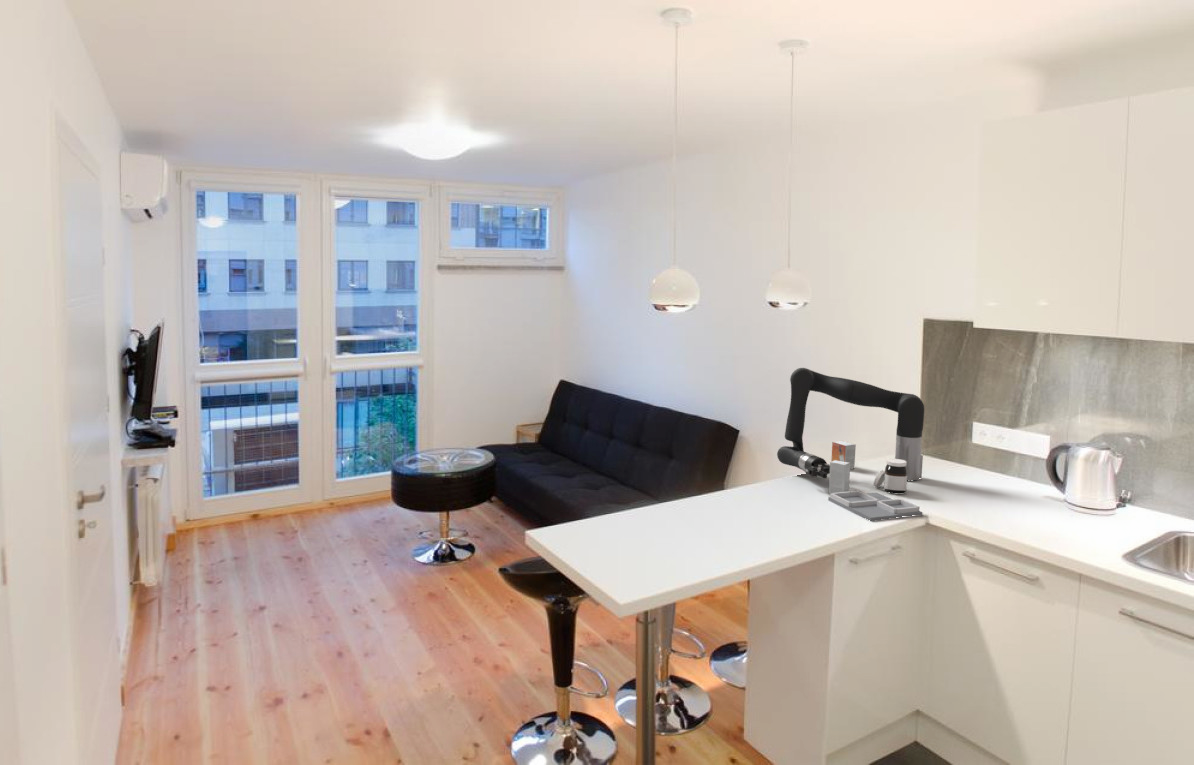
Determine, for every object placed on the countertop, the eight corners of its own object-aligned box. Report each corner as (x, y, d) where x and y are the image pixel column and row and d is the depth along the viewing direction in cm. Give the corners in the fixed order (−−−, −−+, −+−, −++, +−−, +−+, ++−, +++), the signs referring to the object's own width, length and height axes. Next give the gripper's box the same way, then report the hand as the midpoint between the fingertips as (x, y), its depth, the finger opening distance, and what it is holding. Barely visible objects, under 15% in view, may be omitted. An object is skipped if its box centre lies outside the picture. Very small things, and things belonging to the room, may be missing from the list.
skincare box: (849, 494, 269) (850, 462, 268) (843, 497, 266) (845, 464, 265) (833, 491, 274) (835, 459, 272) (828, 493, 271) (829, 461, 269)
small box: (830, 466, 310) (831, 441, 309) (841, 464, 313) (842, 440, 311) (844, 470, 303) (845, 445, 302) (854, 469, 305) (856, 444, 304)
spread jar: (907, 496, 267) (909, 464, 266) (874, 493, 271) (875, 462, 269) (904, 487, 279) (906, 457, 277) (872, 484, 282) (874, 455, 280)
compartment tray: (876, 495, 268) (876, 488, 268) (922, 515, 245) (922, 507, 245) (828, 500, 263) (828, 492, 262) (870, 521, 240) (870, 513, 239)
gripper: (796, 456, 284) (819, 466, 268) (829, 454, 288) (854, 463, 272) (795, 475, 285) (819, 486, 269) (828, 472, 289) (853, 483, 273)
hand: (836, 475), depth 271 cm, fingers open, 8 cm apart
